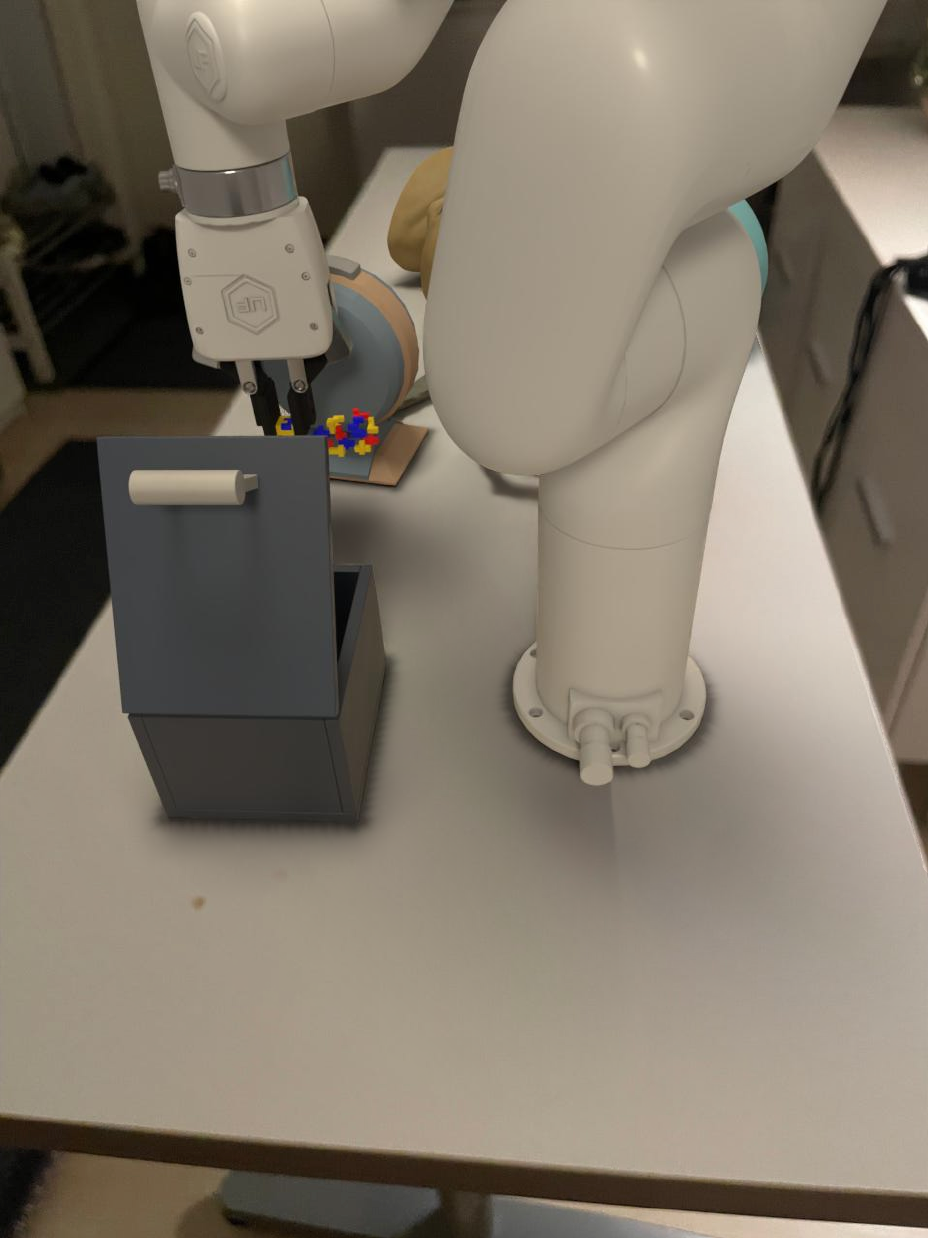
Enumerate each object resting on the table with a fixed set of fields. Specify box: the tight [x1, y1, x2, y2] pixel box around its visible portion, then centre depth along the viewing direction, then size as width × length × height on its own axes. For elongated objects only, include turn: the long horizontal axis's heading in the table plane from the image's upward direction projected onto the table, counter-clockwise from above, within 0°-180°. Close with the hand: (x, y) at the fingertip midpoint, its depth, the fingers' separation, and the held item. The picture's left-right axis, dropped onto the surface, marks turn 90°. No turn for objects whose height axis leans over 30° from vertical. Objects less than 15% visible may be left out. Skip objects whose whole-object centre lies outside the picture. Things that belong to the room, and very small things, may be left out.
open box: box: [127, 563, 387, 823], centre depth 59 cm, size 14×12×9 cm
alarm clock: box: [263, 254, 429, 486], centre depth 82 cm, size 14×10×18 cm
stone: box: [395, 374, 431, 412], centre depth 95 cm, size 13×2×5 cm
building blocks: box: [276, 408, 379, 457], centre depth 75 cm, size 6×8×2 cm
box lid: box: [96, 435, 339, 717], centre depth 47 cm, size 14×12×5 cm
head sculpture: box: [386, 145, 454, 301], centre depth 108 cm, size 21×16×28 cm
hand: (288, 430), depth 75 cm, fingers closed on building blocks, 1 cm apart
